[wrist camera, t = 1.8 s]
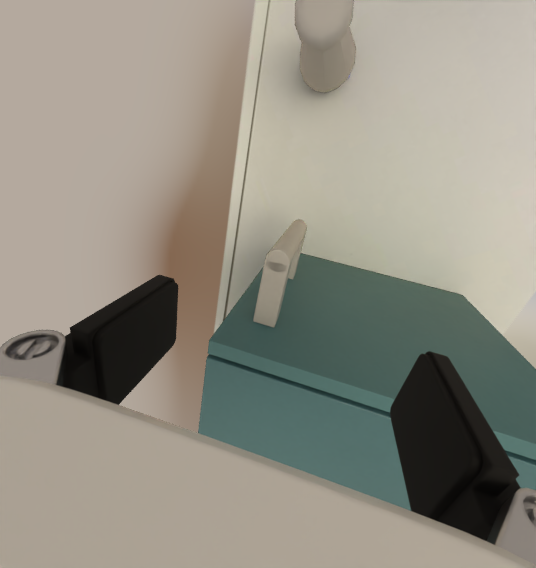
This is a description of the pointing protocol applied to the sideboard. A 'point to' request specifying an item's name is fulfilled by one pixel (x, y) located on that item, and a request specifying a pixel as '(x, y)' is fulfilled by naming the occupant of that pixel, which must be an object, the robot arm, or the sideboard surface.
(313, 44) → the salt shaker
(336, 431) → the box
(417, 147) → the sideboard surface
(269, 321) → the fridge door
